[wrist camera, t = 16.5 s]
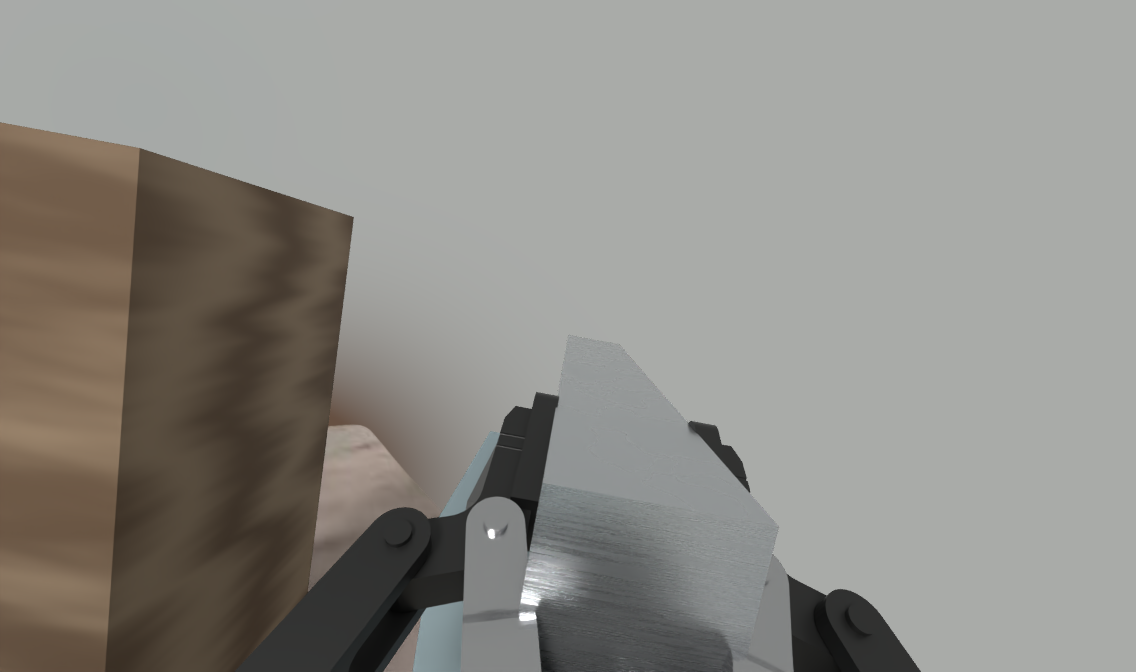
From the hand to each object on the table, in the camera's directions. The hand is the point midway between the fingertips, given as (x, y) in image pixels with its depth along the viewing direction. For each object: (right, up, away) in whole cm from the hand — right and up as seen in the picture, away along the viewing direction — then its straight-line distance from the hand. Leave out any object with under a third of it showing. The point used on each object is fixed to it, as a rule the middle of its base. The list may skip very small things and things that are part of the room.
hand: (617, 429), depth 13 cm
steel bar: (0, -3, +7) cm, 8 cm away
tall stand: (-24, -21, +9) cm, 34 cm away
